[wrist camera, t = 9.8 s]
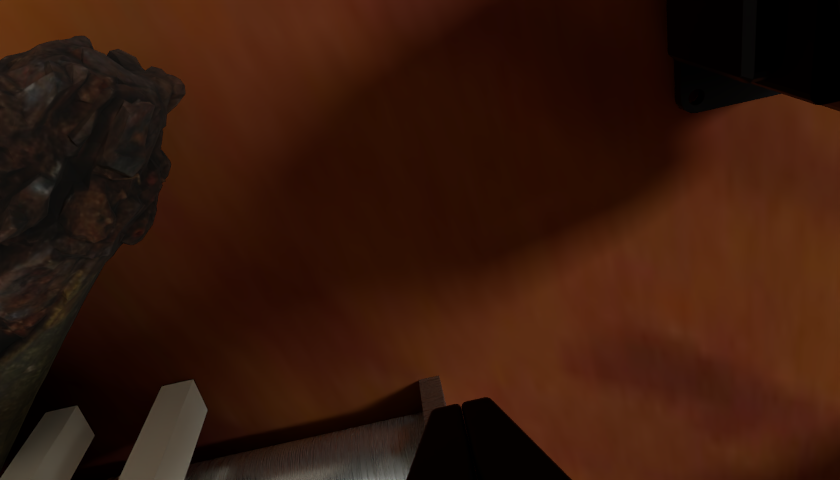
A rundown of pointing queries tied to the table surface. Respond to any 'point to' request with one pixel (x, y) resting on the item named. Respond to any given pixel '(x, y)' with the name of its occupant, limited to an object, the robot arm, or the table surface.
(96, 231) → the dark piece
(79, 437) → the grey staple-shaped bracket
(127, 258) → the table surface
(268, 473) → the air tube
